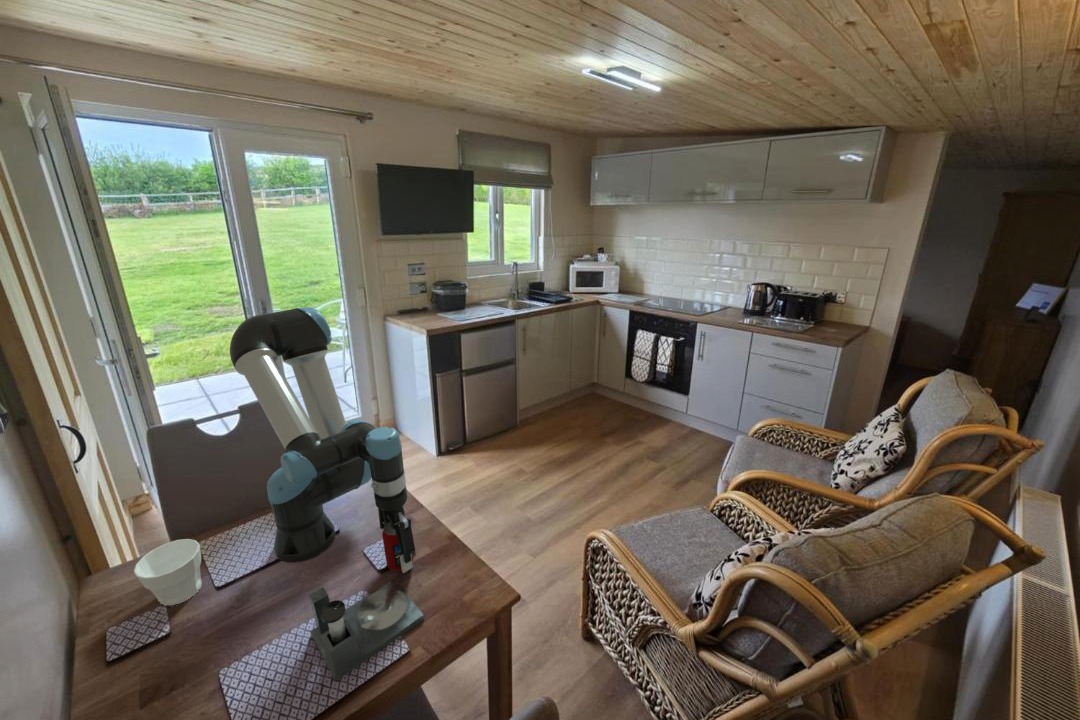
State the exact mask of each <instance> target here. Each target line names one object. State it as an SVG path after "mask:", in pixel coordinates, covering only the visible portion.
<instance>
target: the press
mask: <svg viewBox="0 0 1080 720" xmlns="http://www.w3.org/2000/svg"><path fill="white" fill-rule="evenodd" d="M308 598H309V601H310V605H311V610H312V613H313V618H314V621H315V626H316V627H314V628H312V629H311V630H310V631H309V632H310V635H311V638H312V640H313V642H314V644H315V646H316V647H317V650H318V651H319V653H320V655H321V657H322V659H323V660H324V662H325V665H326V666H327V669H328V670H329V671H330V674H331V676H332V678H333V680H334V681H335V683H336V682H339V680H341V679H342V678H344V677H345V676H347V673H348V674H350V671H351V672H353V670H354V669H357V668H358V667H359V666H360V665H362V664H363V663H365V662H367V661H368V660H369V659H371V658H372V657H373V656H375V655H377V654H378V653H379V652H381V651H382V650H383V649H385V648H386V647H388V646H389V645H390V644H392V643H394V642H395V641H397V639H399V638H400V637H402V636H403V635H404V634H406V633H408V632H409V631H410V630H412V629H414V627H416V626H417V625H419V624H420V623H422V622H423V621H424V620H425V615H424V613H423V612H422V611H421V610H420V609H419V607H418V606H417V605H416V604H415V603H414V601H413V600H412V599H411V598H410V596H408V594H407V593H406V592H405V591H404V590H403V588H402V587H401V586H400V585H399V583H398V582H397V581H396V580H395V579H393V580H392V581H390V582H388V583H387V584H385V585H383V586H381V587H380V588H379V589H377V590H375V591H373V592H372V593H370V594H368V595H367V596H366V597H363V598H362V599H360V600H359V601H356V603H354V604H352V605H350V606H348V607H347V608H346V611H345V614H344V616H343V620H344V625H345V629H346V634H347V638H346V639H345V640H343V641H342V642H340V643H339V644H337V645H336V646H334V647H333V644H332V639H331V635H330V631H329V627H328V623H325V622H323V621H322V618H321V610H322V609H323V607H324V606H325V605H326V604H328V603H330V602H331V601H330V598H329V594H328V592H327V591H326V589H325V588H324V586H322V587H320V588H318V589H316V590H315V591H313V592H311V593H310V594H308ZM344 675H345V676H344ZM343 676H344V677H343ZM340 678H341V679H340Z"/></svg>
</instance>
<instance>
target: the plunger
mask: <svg viewBox="0 0 1080 720" xmlns="http://www.w3.org/2000/svg"><path fill="white" fill-rule="evenodd" d="M346 609H347V608H346V604H345V602H343V601H342V600H338V599H336V600H332V601H330V603H328V604H326V605H325V606H324V607H323V609H322V610H321V618H322V621H323V622H325V623H328V627H329V631H330V635H331V639H332V644H333V647H334V646H336V645H337V644H339V643H340V642H342V641H343V640H345V639H346V638H347V634H346V629H345V625H344V620H343V616H344V614H345V611H346Z"/></svg>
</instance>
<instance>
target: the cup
mask: <svg viewBox="0 0 1080 720" xmlns="http://www.w3.org/2000/svg"><path fill="white" fill-rule="evenodd" d="M201 563H202V553H201V546H200V543H199V542H198V541H197V540H195V539H190V538H185V539H184V538H183V539H176V540H173V541H170V542H167V543H164V544H162V545H160V546H157V547H155V548H154V549H152V550H151V551H149V552H148V553H146V554H145V555H143V556H142V557H141V558H140V559H139V560H138V562H136V564H135V566H134V570H133V573H134V575H135V576H136V577H137V579H138V580H139V582H140V584H141V585H143V587H144V589H147V590H149V591H150V592H151V593H152V594H153V596H155V598H156V599H157V601H158V603H159V602H160V603H161V604H164V605H175V604H179V603H182V602H184V601H186V600H187V601H189V600H190V598H191V597H192V596H193V597H194V596H196V593H197V592H199V591H200V590H201V589H202V583H203V582H202V576H201ZM199 589H200V590H199ZM198 590H199V591H198ZM197 594H198V593H197ZM193 597H192V598H193ZM192 598H191V599H192ZM188 599H189V600H188ZM187 601H186V602H187ZM160 603H159V604H160ZM184 603H185V602H184ZM161 604H160V605H161ZM182 604H183V603H182ZM179 605H180V604H179Z"/></svg>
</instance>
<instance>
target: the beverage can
mask: <svg viewBox="0 0 1080 720" xmlns="http://www.w3.org/2000/svg"><path fill="white" fill-rule="evenodd" d="M398 523H399V522H398ZM396 524H397V523H396ZM382 530H383V529H382ZM381 535H382V543H383V550H384V554H385V562H386V567H387V568H388V569H390V570H391V571H394V572H395V571H397V572H399V571H402V569H401V562H400V556H399V554H398V553H399V551H401V550H400V547H399V544H398V540H397V537H396V533H395V530H394V529H393V528H392V527H391V523H390V522H389V523H387V524H386V525H385V528H384V530H383V531H382V532H381ZM411 557H412V563H413V562H414V552H413V553H411Z"/></svg>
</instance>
